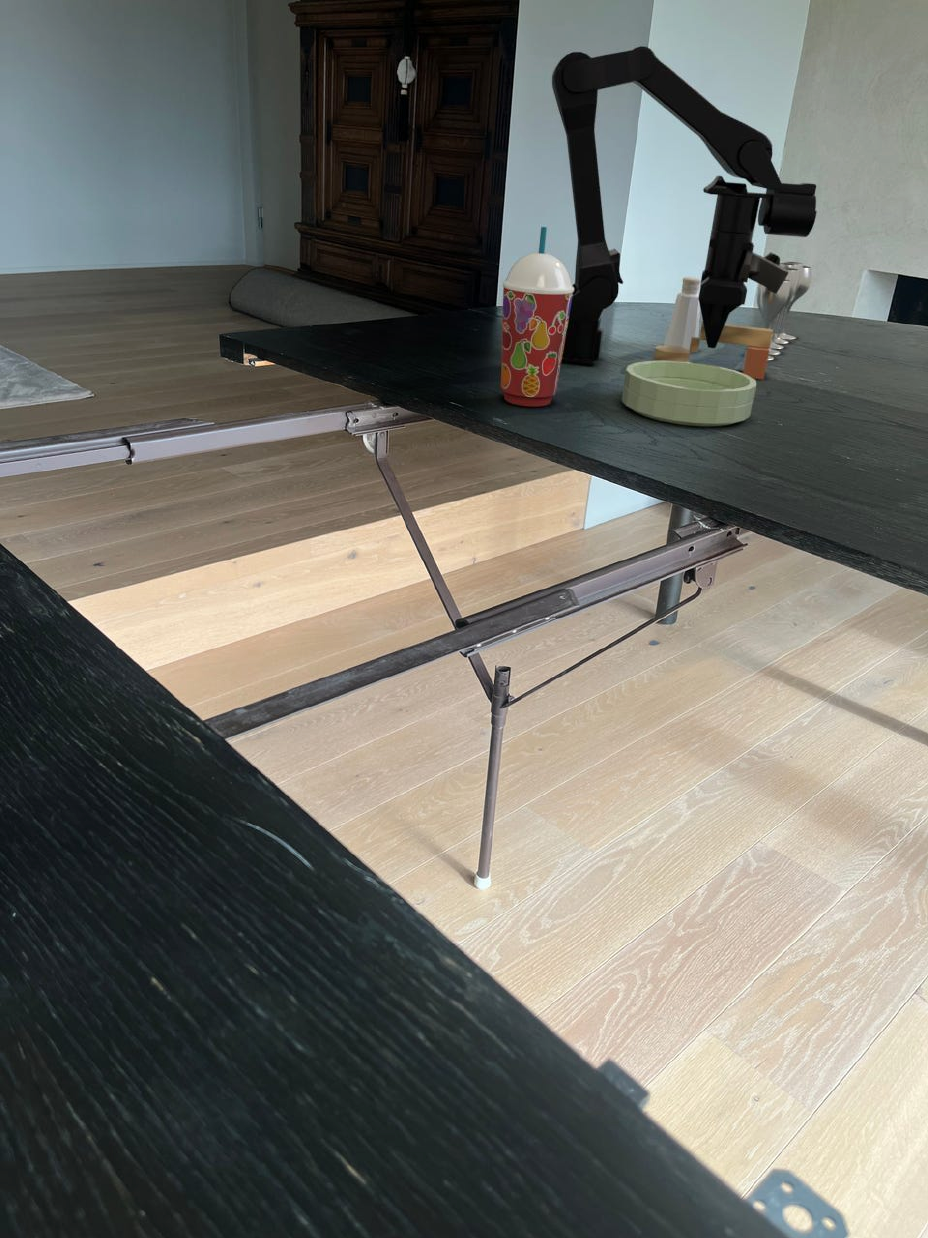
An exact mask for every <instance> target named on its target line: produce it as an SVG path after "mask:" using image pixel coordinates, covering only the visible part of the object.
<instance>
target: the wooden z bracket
mask: <svg viewBox="0 0 928 1238" xmlns="http://www.w3.org/2000/svg"><path fill="white" fill-rule="evenodd" d="M773 333H774V329H773V328H772V329H769V328H768V329H765V328H763V327H755V326H747V325H738V324H730V323H725V325H724V328H723V330H722V333H721V335H720V338H719V340H718V343H721V344H731V345H739V346H745V347H746V346H754V347H763V348H769V347H770V343H771V339H772V338H773V337H772V334H773ZM700 341H704V342H705V341H706V342H707V340H706V335H705V329H704V324H703V320H702V321H701V325H700V331H699V336H698V337H692V339H691V344H690V350H688V349H686V348H682V347H677V346H666V345H664V344H663V345H656V346H655V347H654V352H653V360H652V361H682V362H690V357H691V353H692V352H693V353H696V354H697V353H699V347H700ZM769 349H770V348H769Z"/></svg>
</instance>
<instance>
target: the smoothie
mask: <svg viewBox="0 0 928 1238" xmlns="http://www.w3.org/2000/svg"><path fill="white" fill-rule="evenodd" d="M547 229H548V227H547V226H541V227H540V235H539V244H538V245H539V246H538V251H536V252H531V253H529V254H526V255H524V256H523V257H521V258H519V259H518V260H517V261H516V262H515V263H514V264H513V265H512V267H511V268H510V270H509V272H508V274H507V277H506V279H505V280H503V281H502V287H503V289H502V321H501V323H502V325H501V326H502V327H501V329H502V330H501V331H502V334H501V369H500V390H501V391H502V392H503V394H504V395H503V396H504V400H505V401H506V402H507V403H509V404H511V405H513V406H514V405H515V406H518V407H525V408H540V407H546V406H548V405H550V404H551V402H552V398H553V396H555V395H556V394H557V390H558V389H557V388H558V383H559V380H560V379H559V378H560V374H561V373H560V371H561V366H562V362H561V361H562V355H563V349H564V343H565V338H566V332H567V326H568V320H569V314H570V308H571V302H572V296H573V292H574V287H573V286H572V285H573V284H572V281H571V278H570V274H569V272H568V270H567V268H566V266H565V265H564V264H563V262H562V261H561V260H559V258H557V257H556V256H554V255H552V254H550V253H548V252H546V242H547V241H546V240H547V231H548V230H547Z"/></svg>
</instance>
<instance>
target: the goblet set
mask: <svg viewBox="0 0 928 1238" xmlns="http://www.w3.org/2000/svg"><path fill="white" fill-rule="evenodd" d="M780 266H781V267H784V268H785V269H787V270H788V272H789V273H788V275H787V277H786V279H785V280H784V282H783V284H782V285H781V287H780V289H779V291H778V292H777V293H773V292H771V291H769V290H768V288H767V287H765V286H763V285H761V284H759V283H758V287H757V291H756V304H757V308H758V310H759V313H760V315H761V318H762V323H763V325H762V328H765V329H772V330H773V334H772V338H771V343H770V347H769V355H768V360H767V361H773V360H774V359H775V358H774V357H773V356H778V355H779V356H780V355H781V351H779V350H783V349H784V346H782V345H787V344H789V343H790V342H789V341H788V340H791V341H793V340H796V338H797V337H796V336H793V335H791V334H790V335H789V334H786V333H785V331H786V326H787V322H788V317H789V315H790V311H791V309H792V307H793V305H794V304H795V303H796V302H797V301H798V300H799V299H800V298H801V297H803V296H804V295H805V294H806V293H808V291H809V290H810V288H811V286H812V282H813V273H812V267H811V266H807V265H804V264H803V262H798V261H784V262H780ZM783 321H784V322H783ZM778 324H779V326H778ZM782 325H783V326H782ZM773 327H774V329H773ZM777 329H778V330H777ZM781 330H782V331H781ZM776 332H777V333H776Z"/></svg>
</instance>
